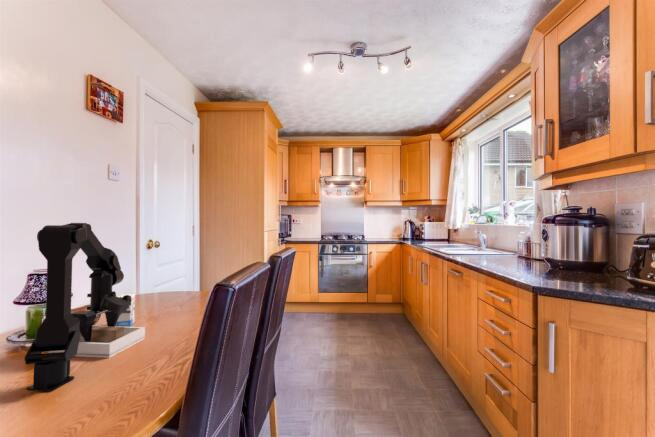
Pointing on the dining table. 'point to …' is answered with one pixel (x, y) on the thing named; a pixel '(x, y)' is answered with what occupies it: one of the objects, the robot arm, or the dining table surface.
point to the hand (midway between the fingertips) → (100, 337)
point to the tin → (84, 308)
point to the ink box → (127, 313)
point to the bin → (110, 344)
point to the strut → (104, 334)
